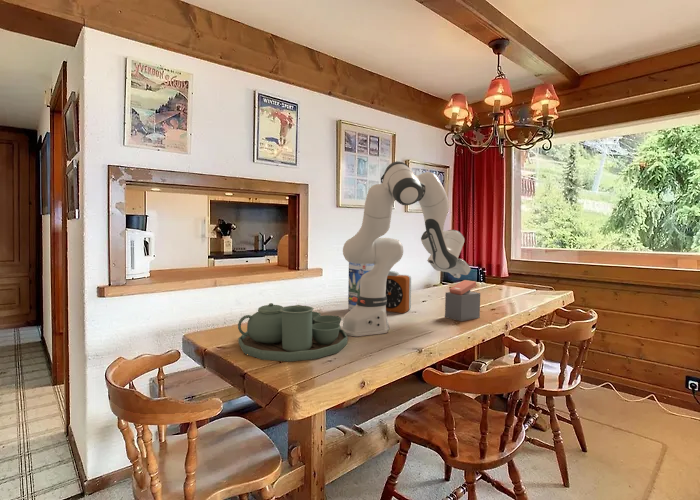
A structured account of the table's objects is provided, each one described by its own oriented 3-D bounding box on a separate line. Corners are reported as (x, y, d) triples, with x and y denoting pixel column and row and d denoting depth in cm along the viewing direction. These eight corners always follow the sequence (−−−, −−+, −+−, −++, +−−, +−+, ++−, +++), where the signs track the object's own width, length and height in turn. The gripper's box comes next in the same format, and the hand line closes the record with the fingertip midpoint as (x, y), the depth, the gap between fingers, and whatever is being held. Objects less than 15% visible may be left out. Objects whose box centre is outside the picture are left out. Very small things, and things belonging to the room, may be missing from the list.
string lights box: (347, 309, 213) (347, 260, 212) (358, 307, 218) (358, 259, 217) (365, 314, 204) (365, 262, 202) (376, 311, 209) (376, 261, 207)
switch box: (461, 321, 189) (461, 295, 189) (445, 317, 198) (445, 292, 197) (479, 317, 197) (480, 293, 196) (463, 313, 205) (464, 290, 204)
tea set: (368, 345, 154) (368, 301, 153) (279, 372, 126) (279, 319, 125) (303, 325, 182) (302, 288, 181) (218, 344, 154) (217, 300, 153)
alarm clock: (371, 309, 213) (372, 270, 212) (378, 306, 221) (378, 269, 220) (405, 313, 205) (406, 272, 203) (411, 310, 212) (411, 271, 211)
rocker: (462, 297, 191) (460, 290, 190) (450, 295, 197) (449, 288, 196) (477, 288, 197) (475, 281, 196) (465, 286, 202) (464, 279, 202)
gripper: (465, 253, 181) (478, 274, 187) (431, 250, 198) (445, 269, 204) (457, 264, 179) (472, 284, 185) (424, 260, 195) (438, 279, 202)
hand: (457, 276), depth 194 cm, fingers closed
